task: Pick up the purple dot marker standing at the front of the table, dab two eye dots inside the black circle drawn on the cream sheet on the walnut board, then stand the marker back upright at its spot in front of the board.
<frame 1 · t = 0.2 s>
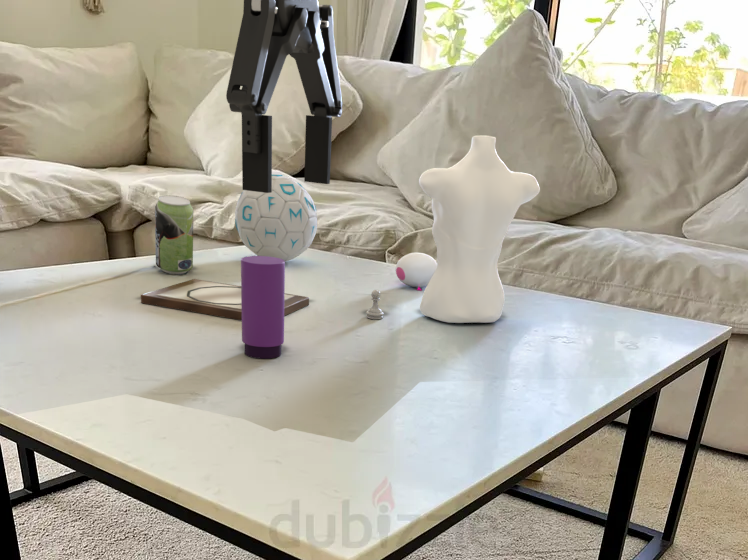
hand: (289, 187, 80), 20 cm above the table, tool pointing down, fingers open, 13 cm apart
dot marker: (263, 353, 95), on the table
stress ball: (414, 287, 136), on the table
puzzle ball: (275, 261, 147), on the table
pawn: (374, 318, 114), on the table
beverage can: (176, 273, 132), on the table
torso sculpture: (460, 319, 118), on the table
drawing board: (227, 304, 115), on the table
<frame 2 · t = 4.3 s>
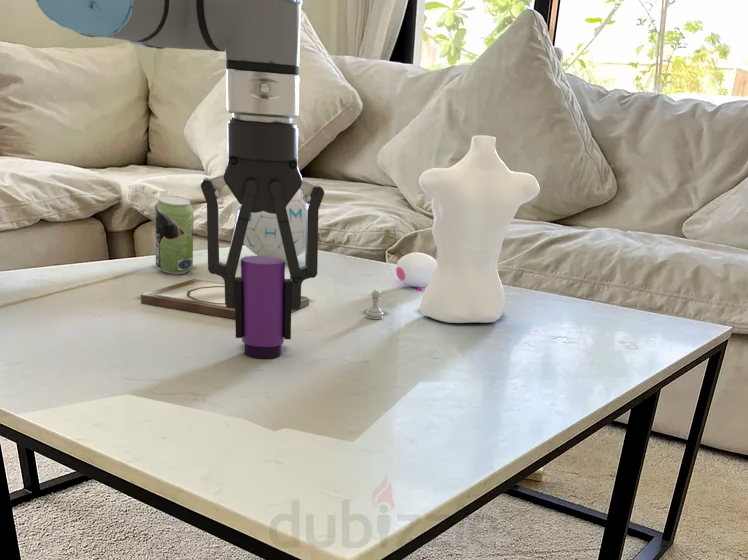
hand: (262, 335, 94), 2 cm above the table, tool pointing down, fingers closed on dot marker, 5 cm apart
dot marker: (262, 353, 95), on the table, touching gripper
everything else where it was.
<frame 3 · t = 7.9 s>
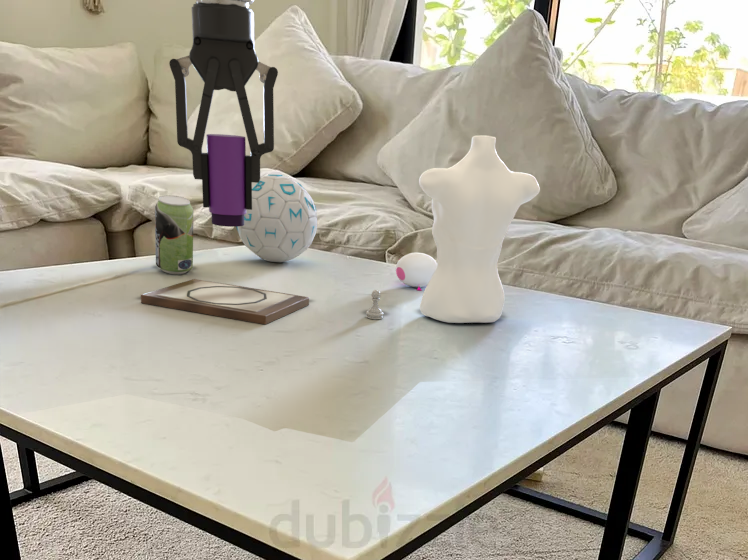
hand: (227, 206, 106), 14 cm above the table, tool pointing down, fingers closed on dot marker, 5 cm apart
dot marker: (228, 224, 107), point 12 cm above the table, touching gripper
everything else where it was.
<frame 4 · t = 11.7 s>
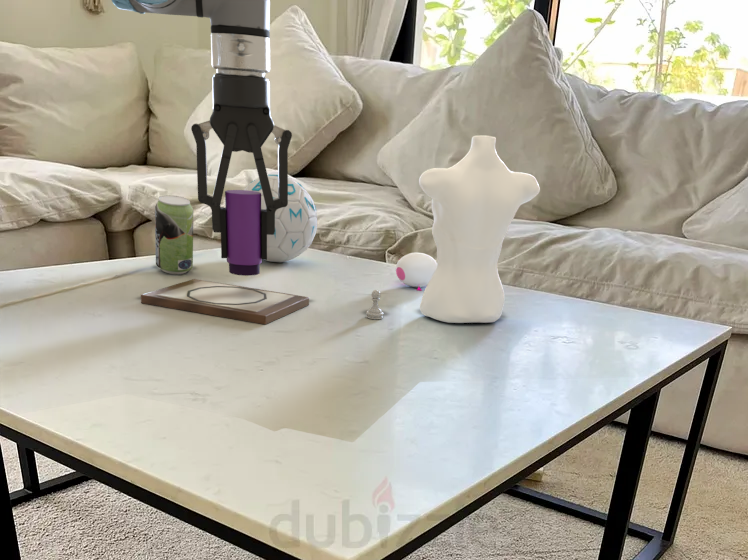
hand: (244, 256, 113), 7 cm above the table, tool pointing down, fingers closed on dot marker, 5 cm apart
dot marker: (244, 272, 114), point 4 cm above the table, touching gripper
everything else where it was.
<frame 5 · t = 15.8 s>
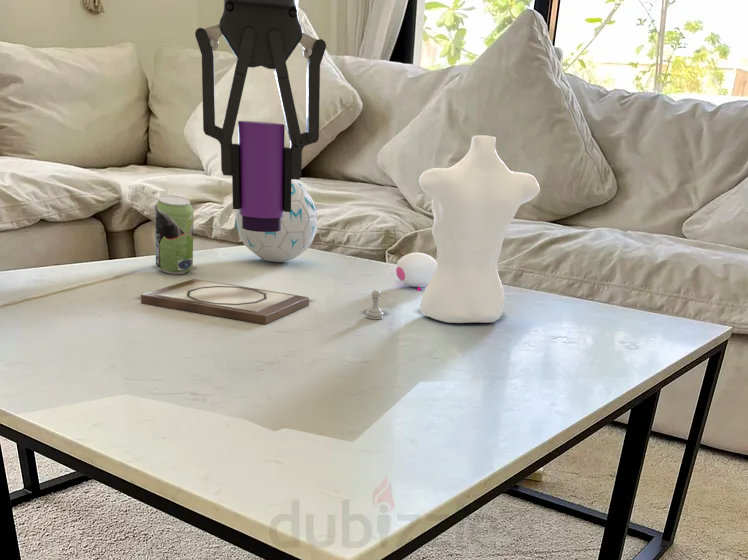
hand: (261, 208, 89), 16 cm above the table, tool pointing down, fingers closed on dot marker, 5 cm apart
dot marker: (261, 229, 90), point 14 cm above the table, touching gripper
everything else where it was.
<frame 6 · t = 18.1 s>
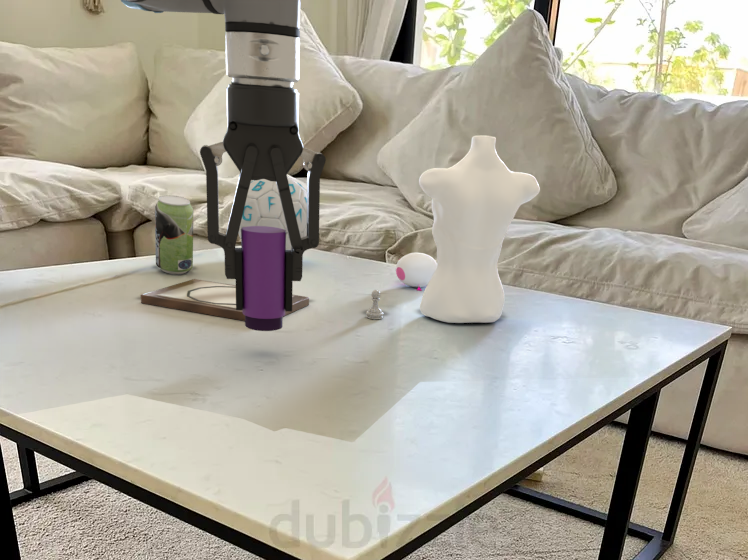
hand: (263, 307, 92), 6 cm above the table, tool pointing down, fingers closed on dot marker, 5 cm apart
dot marker: (263, 326, 93), point 3 cm above the table, touching gripper
everything else where it was.
when the fingers open (2 cm above the table, at t = 19.3 s): dot marker stays where it is, on the table.
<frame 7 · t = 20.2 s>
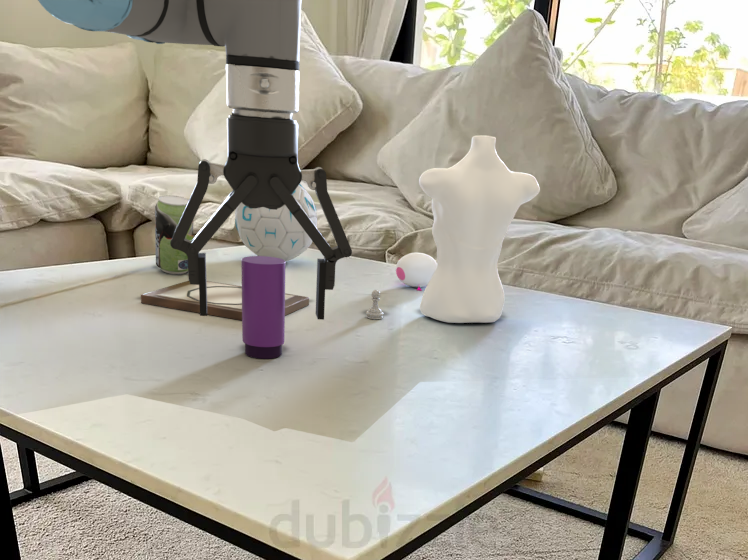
hand: (262, 315, 92), 5 cm above the table, tool pointing down, fingers open, 13 cm apart
dot marker: (263, 353, 95), on the table
everything else where it was.
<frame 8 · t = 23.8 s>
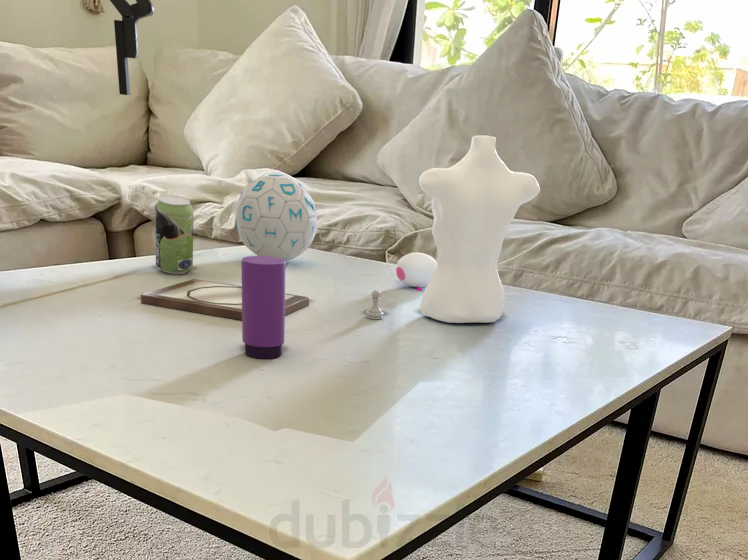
hand: (55, 89, 80), 27 cm above the table, tool pointing down, fingers open, 13 cm apart
nothing on the table moved.
at the end: dot marker 0.1 cm from the target spot on the table beside the drawing board, on the table; dot marker tilted 0°; the gripper is holding nothing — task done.
